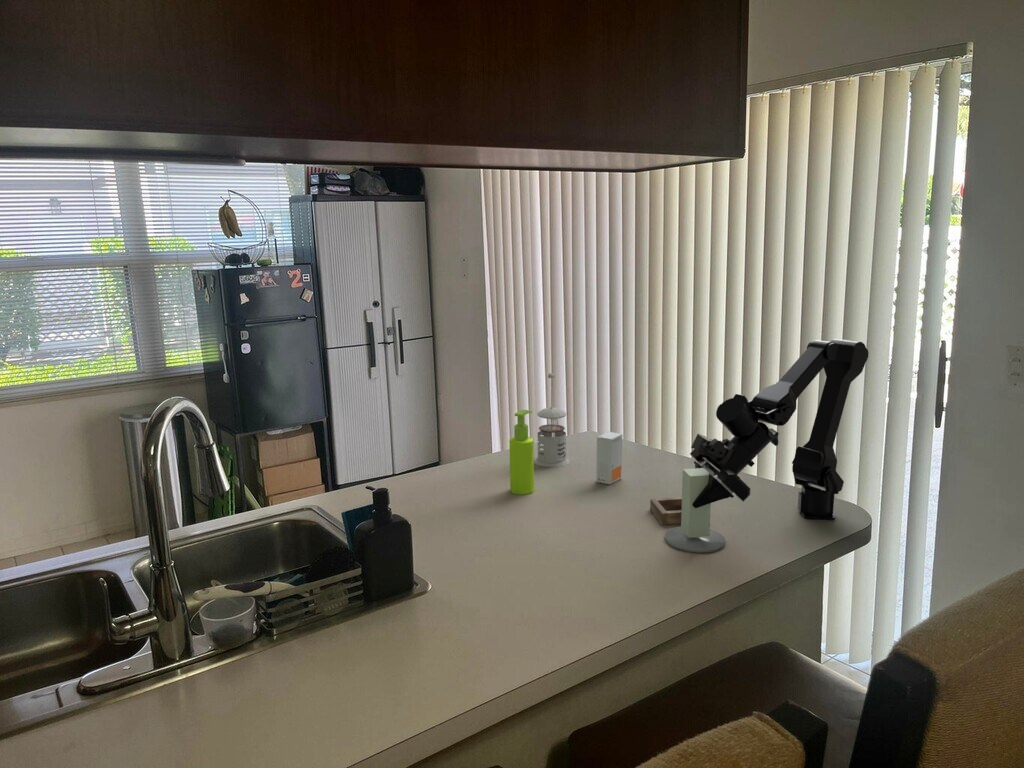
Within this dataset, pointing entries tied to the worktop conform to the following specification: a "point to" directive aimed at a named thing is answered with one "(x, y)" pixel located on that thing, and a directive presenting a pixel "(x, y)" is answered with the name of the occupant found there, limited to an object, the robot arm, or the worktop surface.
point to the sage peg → (692, 518)
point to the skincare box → (609, 457)
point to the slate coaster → (694, 541)
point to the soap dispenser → (521, 458)
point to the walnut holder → (665, 504)
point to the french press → (552, 438)
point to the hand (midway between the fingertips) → (689, 502)
